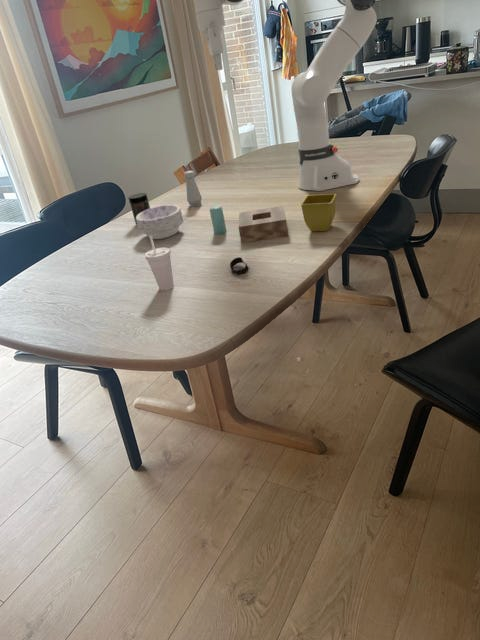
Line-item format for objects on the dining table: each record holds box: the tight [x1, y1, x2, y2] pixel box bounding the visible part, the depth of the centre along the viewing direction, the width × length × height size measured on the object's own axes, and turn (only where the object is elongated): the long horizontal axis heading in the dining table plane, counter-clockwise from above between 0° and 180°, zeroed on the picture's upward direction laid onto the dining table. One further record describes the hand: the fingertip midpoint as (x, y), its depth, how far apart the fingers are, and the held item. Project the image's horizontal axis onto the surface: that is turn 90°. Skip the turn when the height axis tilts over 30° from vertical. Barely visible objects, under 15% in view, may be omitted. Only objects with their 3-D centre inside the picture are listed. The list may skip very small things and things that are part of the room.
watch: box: [229, 256, 250, 276], centre depth 122 cm, size 8×5×4 cm, turn 17°
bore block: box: [237, 205, 289, 244], centre depth 144 cm, size 14×14×5 cm
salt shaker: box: [183, 170, 203, 207], centre depth 183 cm, size 6×6×13 cm
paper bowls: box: [136, 204, 184, 240], centre depth 158 cm, size 15×15×8 cm
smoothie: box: [144, 236, 175, 291], centre depth 117 cm, size 6×6×14 cm
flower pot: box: [300, 193, 337, 232], centre depth 137 cm, size 9×9×9 cm
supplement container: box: [127, 192, 151, 226], centre depth 173 cm, size 7×7×10 cm
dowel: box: [209, 205, 227, 235], centre depth 150 cm, size 4×4×8 cm
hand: (219, 69), depth 158 cm, fingers open, 8 cm apart
